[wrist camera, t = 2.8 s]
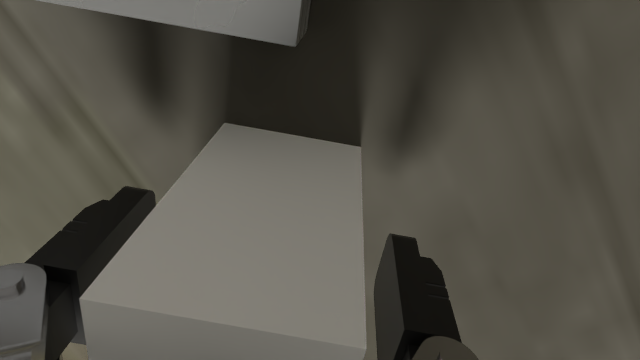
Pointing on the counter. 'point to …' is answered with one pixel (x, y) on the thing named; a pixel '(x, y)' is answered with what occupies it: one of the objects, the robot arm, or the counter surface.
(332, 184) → the plug
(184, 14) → the socket plate
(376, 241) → the counter surface
